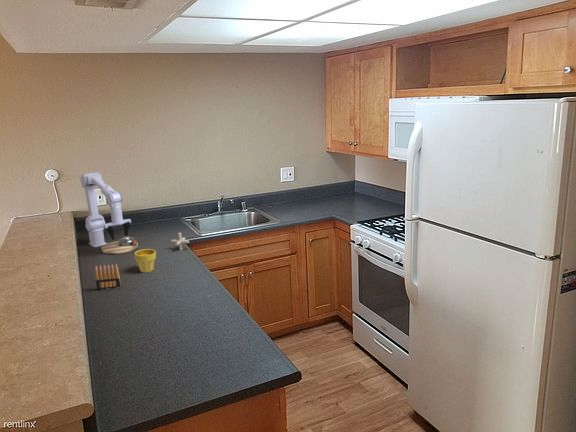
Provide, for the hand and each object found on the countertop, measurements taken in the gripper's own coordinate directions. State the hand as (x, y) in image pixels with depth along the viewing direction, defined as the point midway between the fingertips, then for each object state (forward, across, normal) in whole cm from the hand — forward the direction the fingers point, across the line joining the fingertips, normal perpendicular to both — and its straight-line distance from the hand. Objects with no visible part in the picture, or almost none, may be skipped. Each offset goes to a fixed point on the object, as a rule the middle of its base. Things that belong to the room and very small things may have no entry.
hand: (119, 237), depth 254 cm
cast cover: (+8, +8, +10) cm, 15 cm away
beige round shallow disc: (+10, +3, +10) cm, 14 cm away
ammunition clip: (+10, -24, -41) cm, 48 cm away
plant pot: (+10, -1, -32) cm, 34 cm away
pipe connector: (+10, +27, -18) cm, 34 cm away
